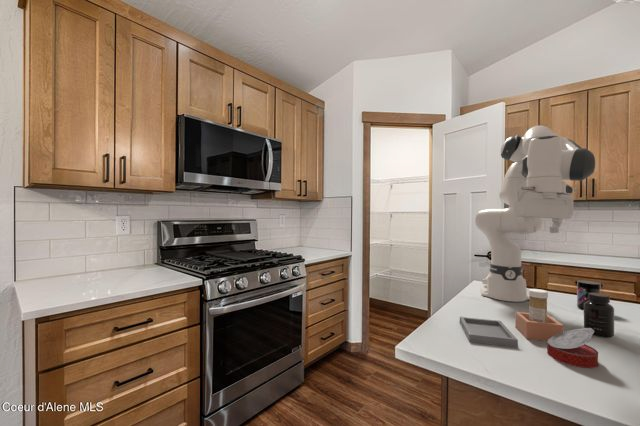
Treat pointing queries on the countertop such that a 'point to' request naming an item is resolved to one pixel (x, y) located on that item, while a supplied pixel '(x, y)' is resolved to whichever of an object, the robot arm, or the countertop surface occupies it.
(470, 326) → the charcoal tray
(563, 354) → the canned food
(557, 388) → the countertop surface
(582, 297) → the supplement container
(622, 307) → the countertop surface
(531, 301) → the sprinkles bottle
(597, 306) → the supplement bottle
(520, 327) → the terracotta holder
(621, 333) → the countertop surface
